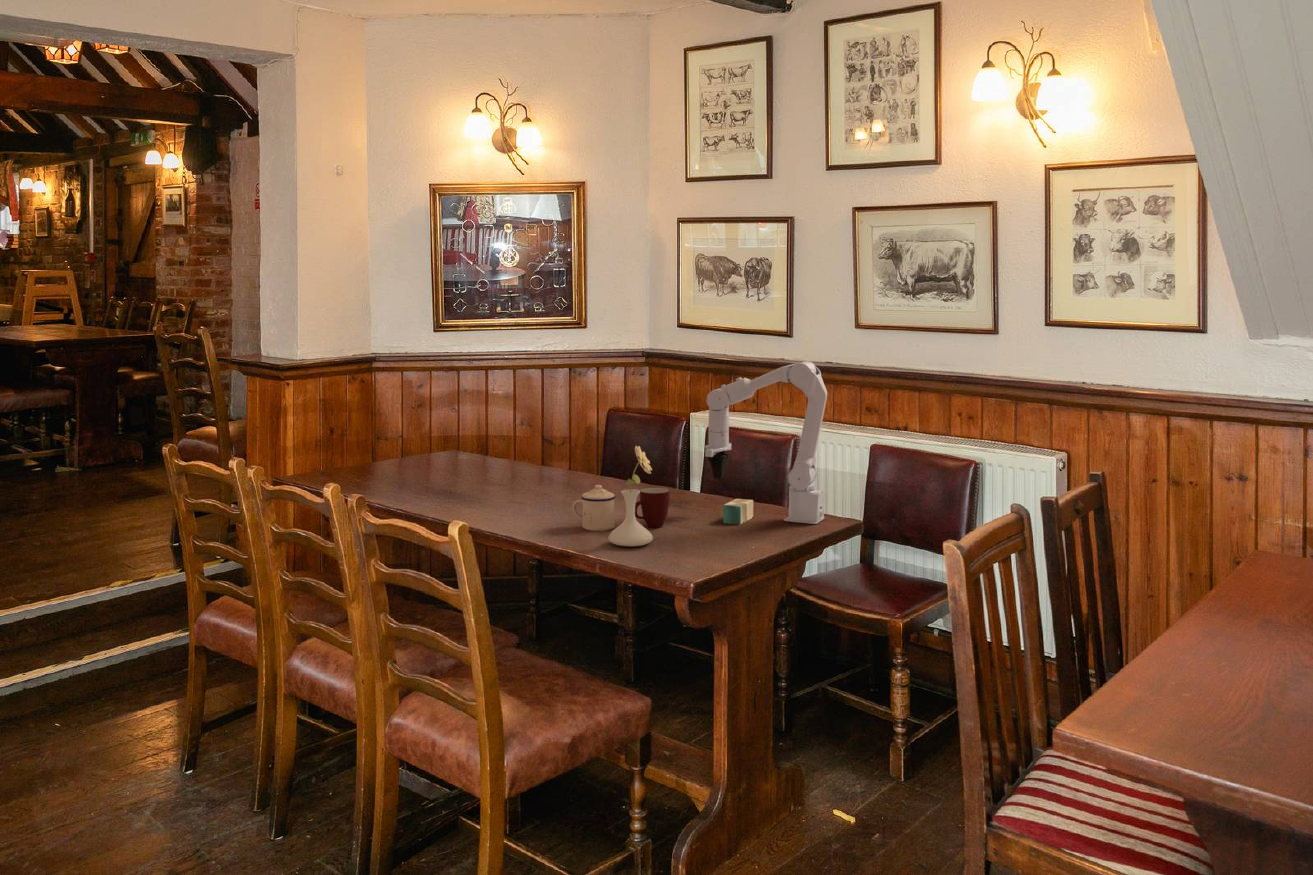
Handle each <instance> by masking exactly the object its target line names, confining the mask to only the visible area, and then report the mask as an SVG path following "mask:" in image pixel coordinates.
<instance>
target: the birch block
mask: <svg viewBox="0 0 1313 875" xmlns="http://www.w3.org/2000/svg"><path fill="white" fill-rule="evenodd" d="M722 505H723V506H722V507H723V508H722V523H723V522H724V523H723V524H730V525H731V524H732V525H742V524H744V523H745V522H747V521H750V520H751V519H753V518H754V500H753V499H744V498H735V499H733V500H731V501H728V502H727V503H725V504H722ZM752 517H753V518H752ZM743 522H744V523H743Z"/></svg>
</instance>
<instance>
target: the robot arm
mask: <svg viewBox="0 0 1313 875" xmlns="http://www.w3.org/2000/svg"><path fill="white" fill-rule="evenodd" d="M735 380H736V381H734V382H731V383H729V384H721V385H720V388H716V389H713V390H711V391H710V392H709V393H707V396H706V404H707V406H708V444H707V445H704V449H705V451H704V453H705V454H704V455H705V457H706V458H707V459H708V462H709V464H710V466H711V467H710V468H711V470H712V474H713V478H714V479H717V480H723V477H724V473H725V470H726V466H727V463H728V460H729V458H730V457H731V453H730V452H726V451H732V443H731V442H729V441H730V439H729V438H730V436H729V435H730V431H729V430H730V425H729V424H730V415H729V412H730V411H729V410H730V408H729V407H730V405H731V406H732V405H734V404H738V403H740V402H742V401H745V400H747V399H751V398H752V397H753V396H754V394H755V391H757V390H759V389H761V388H765V387H768V386H770V385H773V384H775V383H778V382H783V383H791V384H793V385H794V387H797V388H798V389H800V390H801V391H802V392H803V394H804V395H805V396H806V398H807V400H808V401H807V405H806V411H805V414H804V415H805V416H804V420H803V425H802V426H803V427H802V430H801V435H800V439H799V440H800V441H799V445H798V450H797V455H796V458H795V461H794V463H793V467H792V469H791V470H790V471H789V473H788V476H787V481H788V483H789V486H788V488H789V489H788V493H789V494H788V516H787V517H785V518H784V519H783V521H785V522H791V523H792V522H793V523H802V524H810V525H811V524H812V525H816V524H818V523H820V522H821V521H823V520H824V519H825V494H824V491H823V490H819V489H816V485H815V483H814V481H815V480H816V478H817V470H816V463H817V458H816V455H817V454H816V453H817V449H818V445H819V439H820V435H821V430H822V424H823V420H824V415H825V410H826V404H827V398H828V390H827V388H826V385H825V383H824V380H823V378H822V372H821V370H820V369H819V368H818V367H817V366H816V364H814V363H813V362H811V361H809V360H802V361H801V362H798V363H792V364H787V365H785V366H780V367H778V368H776V369H773V370H771V371H769V372H767V373H764V374H763V375H762V374H761V376H758V377H755V378H753V379H749V378H747V377H743V378H742V377H741V376H740V377H738V378H736V379H735Z"/></svg>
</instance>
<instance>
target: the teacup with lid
mask: <svg viewBox="0 0 1313 875" xmlns="http://www.w3.org/2000/svg"><path fill="white" fill-rule="evenodd" d="M615 499H616V495H615V494H614V493H613V492H610V491H608V490H607V489H605V488H603V486H602V485H601V484H595V485H594V488H592V489H590V490H589V491H588V492H584V493H583V494H582V495H581V499H577V500H575V501H574V502H573V503H572V512H573V514H574V515H575V516H576V517H577V518H579V519H582V528H583V529H585V530H586V531H591V532H592V531H593V532H602V531H603V532H604V531H611V530H612V529H613V530H614V529H615ZM579 503H580V504H581V503H582V514H580V513H579V512H578V511H577V506H576V505H577V504H579Z"/></svg>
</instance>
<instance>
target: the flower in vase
mask: <svg viewBox="0 0 1313 875" xmlns="http://www.w3.org/2000/svg"><path fill="white" fill-rule="evenodd" d="M634 453H635V456H636V459H637V461H638V462H637V463H636V465H635V467H634V469H633V473H632V476H631V478H628V479H627V480H626V482H625V483H624V485H626V486H630V487H629V489H623V490H620V493H621V495H622V496H623V498H624V502H625V503H624V504H625V518H624V519H623V520H624V521H623V522H622V523H621V524H619V525H618V526H617V527H616V528H614V529H613V530H612V531H611V532H610V533H609V535H608V541H609V542H610V543H611V544H614V545H615V546H620V547H640V546H645V545H647V544H650V543H652V541H653V539H654V537H653V535H652V533H651V532H650V531H649V530H648V529H647V528H645V527H644V526H643V524H641V523H640V522H638V520H637V518H636V517H635V503H636V502H637V498H638V496H639V495H640V490H639V489H632V488H633V486H634V484H635V483H636V484H637V485H639V484H640V483H641V478H640V476H638V474H635V473H636V471H637V468H638V466H639V465H640V466H641V468H642V469H643V471H644V472H645V473H647V474H648V475H650V474H652V472H651V471H653V469H652V466H651V465H650V464H651V462H650V460H649V459H648V458H647V455H646V452H645V451H642V449H641V446H640V445H638V446H637V445H635V447H634Z"/></svg>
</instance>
